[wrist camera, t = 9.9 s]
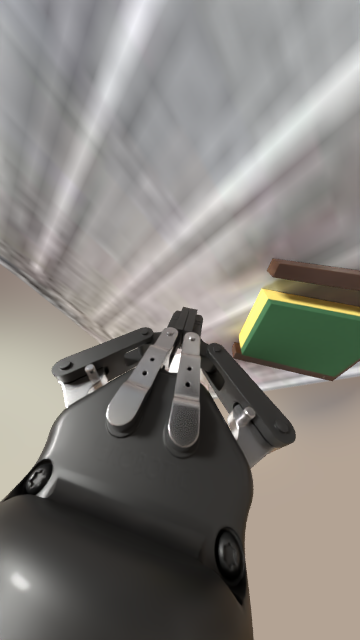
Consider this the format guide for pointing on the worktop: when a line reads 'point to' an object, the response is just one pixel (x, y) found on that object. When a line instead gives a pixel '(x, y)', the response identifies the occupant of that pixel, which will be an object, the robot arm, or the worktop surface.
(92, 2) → the worktop surface
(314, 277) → the sponge rack
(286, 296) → the sponge
